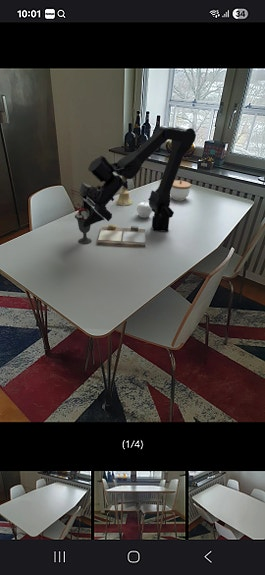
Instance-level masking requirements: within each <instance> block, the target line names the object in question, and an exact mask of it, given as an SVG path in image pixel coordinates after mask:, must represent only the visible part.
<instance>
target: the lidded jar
mask: <svg viewBox="0 0 265 575" xmlns="http://www.w3.org/2000/svg"><path fill="white" fill-rule="evenodd" d="M191 186H192V185H191V183H190V182H188V181H185V180H182V179H181V180H180V179H179V180H174V183H173V186H172V188H171V191H170V197H171V198H172V199H173V200H175V201H185V199H186V198H187V197H188V196H189V194H190V190H191Z"/></svg>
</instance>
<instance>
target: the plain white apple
mask: <svg viewBox="0 0 265 575" xmlns="http://www.w3.org/2000/svg"><path fill="white" fill-rule="evenodd" d="M136 211H137V214H138V216H139V217H140V218H142V219H143V218H144V219H146V218H147V219H148V218H149V217H150V216H151V214H152V212H153V211H152V208H151V207H150V206H149V201H148V202H147V201H146V199H143V201H142V202H140V203H138V204H137V205H136Z"/></svg>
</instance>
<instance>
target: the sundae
mask: <svg viewBox="0 0 265 575" xmlns="http://www.w3.org/2000/svg"><path fill="white" fill-rule="evenodd" d="M77 206H79V208H78V210H77V212H76V214H75V215H74V218H75V219H76V220H77V226H78V230H79V232H80V233H82V238H79V239H78V242H79V243H80V244H81V243H82V245H88V244H90V243H92V239H91V238H89V237H87V233H89V232H90V230H91V227H92V225H89V226H87V227H83V224H84V222H85V221H86V219H87V218H88V216H89V215H90V213H91V212H90V213H89V211H88V210H87V209H85V208H82V209H81V207H82V204H80V203H78V204H77Z"/></svg>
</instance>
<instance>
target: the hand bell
mask: <svg viewBox="0 0 265 575" xmlns="http://www.w3.org/2000/svg"><path fill="white" fill-rule="evenodd" d="M121 178H122V179H123V180H126V181H128V179H126V178H124V177H123V176H121ZM115 204H116V205H117V206H122V207H123V206H124V207H126V206H130V205H133V201H132V200H131V198H130V193H129V190H127V189H125V188H124V187H123V186H122V190H119V196H118V199H117V200H116V201H115Z"/></svg>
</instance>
